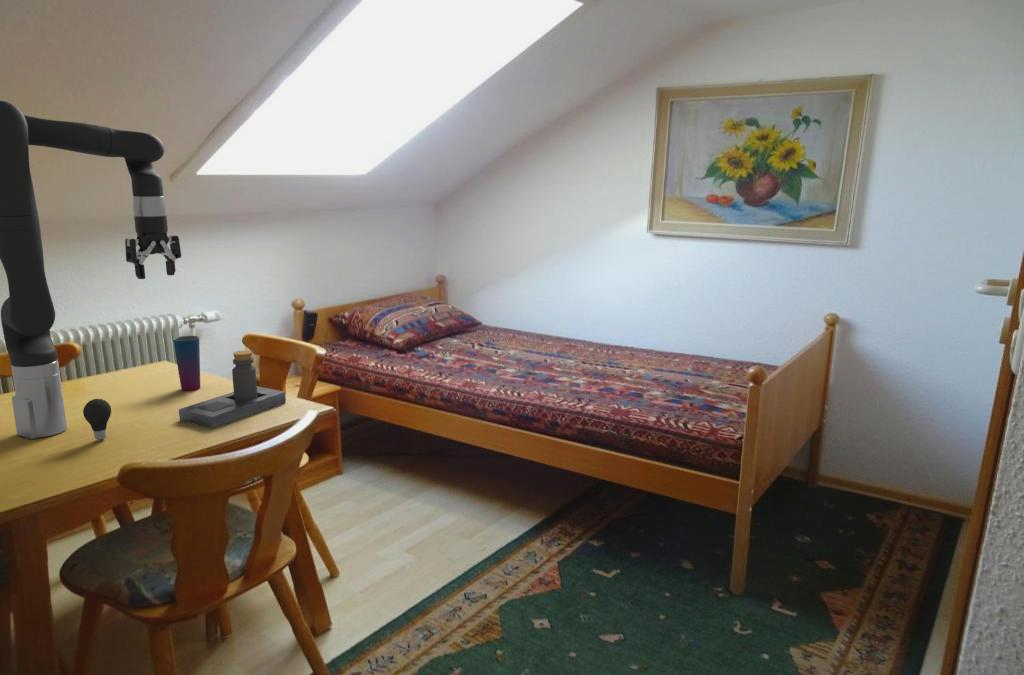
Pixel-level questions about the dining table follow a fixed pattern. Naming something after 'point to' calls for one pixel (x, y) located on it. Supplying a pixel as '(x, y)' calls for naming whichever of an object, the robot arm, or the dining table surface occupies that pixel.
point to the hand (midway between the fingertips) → (156, 277)
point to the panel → (230, 408)
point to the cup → (188, 361)
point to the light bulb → (97, 416)
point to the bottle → (244, 376)
